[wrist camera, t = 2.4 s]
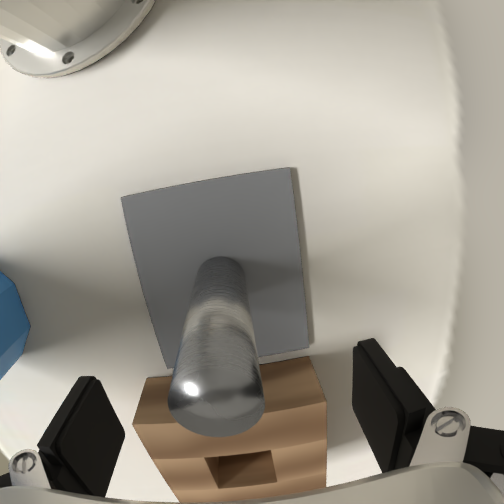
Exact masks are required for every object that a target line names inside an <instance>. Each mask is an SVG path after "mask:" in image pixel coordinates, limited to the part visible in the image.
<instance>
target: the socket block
mask: <svg viewBox="0 0 504 504" xmlns="http://www.w3.org/2000/svg"><path fill="white" fill-rule="evenodd" d="M259 368H260V374H261V380H262V386H263V392H264V399H265V410H264V413H263V415H262V417H261V419H260V420H259V421H258V422H257V423H256V424H255V425H254V426H253V427H252V428H250V429H248V430H247V431H245V432H243V433H240V434H237V435H233V436H228V437H209V436H203V435H200V434H196V433H194V432H191V431H189V430H187V429H186V428H184V427H183V426H181V425H180V424H179V423H178V422H177V421H176V420H175V419H174V418H173V416H172V415H171V413H170V411H169V408H168V394H169V389H170V384H171V380H172V376H168V377H156V378H147V379H146V382H145V385H144V388H143V391H142V394H141V397H140V400H139V404H138V407H137V410H136V413H135V416H134V420H133V423H132V425H133V427H134V429H135V431H136V433H137V434H138V436H139V438H140V440H141V441H142V443H143V445H144V447H145V448H146V450H147V452H148V454H149V455H150V457H151V459H152V460H153V462H154V464H155V465H156V467H157V468H158V470H159V472H160V473H161V475H162V476H163V478H164V479H165V481H166V482H167V484H168V486H169V487H170V489H171V490H172V492H173V493H174V494H175V496H176V497H177V499H178V500H179V502H180V503H197V502H223V501H237V500H249V499H258V498H267V497H274V496H281V495H288V494H294V493H300V492H305V491H310V490H315V489H320V488H325V487H326V469H327V402H326V399H325V396H324V394H323V391H322V388H321V386H320V383H319V381H318V378H317V376H316V373H315V370H314V368H313V365H312V363H311V360H310V358H309V356H307V357H302V358H296V359H291V360H286V361H280V362H275V363H269V364H263V365H259Z"/></svg>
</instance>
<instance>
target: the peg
mask: <svg viewBox="0 0 504 504" xmlns="http://www.w3.org/2000/svg"><path fill="white" fill-rule="evenodd" d="M168 408H169V411H170V413H171V415H172V416H173V418H174V419H175V420H176V421H177V422H178V423H179V424H180V425H181V426H183V427H184V428H186V429H187V430H189V431H191V432H194V433H196V434H200V435H203V436H209V437H228V436H233V435H237V434H240V433H243V432H245V431H247V430H248V429H250V428H252V427H253V426H254V425H255V424H256V423H257V422H258V421H259V420H260V419H261V417H262V415H263V413H264V410H265V399H264V392H263V386H262V380H261V374H260V368H259V361H258V355H257V349H256V342H255V336H254V330H253V323H252V317H251V311H250V304H249V298H248V291H247V285H246V278H245V273H244V271H243V269H242V267H241V266H240V265H239V264H238V263H237V262H236V261H235V260H233V259H231V258H228V257H224V256H217V257H212V258H210V259H208V260H206V261H205V262H204V263H203V264H202V265H201V266H200V267H199V269H198V271H197V274H196V278H195V282H194V286H193V290H192V294H191V298H190V302H189V306H188V310H187V314H186V319H185V323H184V327H183V331H182V335H181V340H180V344H179V348H178V353H177V357H176V362H175V366H174V371H173V375H172V380H171V384H170V389H169V394H168Z"/></svg>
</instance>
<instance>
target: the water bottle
mask: <svg viewBox="0 0 504 504" xmlns="http://www.w3.org/2000/svg"><path fill="white" fill-rule="evenodd" d="M29 330H30V324H29V321H28V319H27V316H26V314H25V311H24V308H23V306H22V303H21V300H20V298H19V295H18V292H17V289H16V286H15V284H14V283H13V282H12V281H11V280H10V279H9V278H7V277H6V276H5V275H4V274H3V273H2V272H1V271H0V380H1V379H2V377H3V376H4V375H5V374H6V373H7V371H8V370H9V369H10V368H11V367H12V366H13V364H14V363H15V362H16V361H17V360H18V359H19V357H20V356H21V355H22V353H23V350H24V346H25V343H26V339H27V336H28V333H29Z"/></svg>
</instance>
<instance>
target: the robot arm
mask: <svg viewBox="0 0 504 504" xmlns="http://www.w3.org/2000/svg"><path fill="white" fill-rule="evenodd" d="M140 2H141V3H140ZM154 2H155V0H0V51H1V54H2V55H3V57H4V59H5V61H6V62H7V63H8V64H9V65H10V66H11V67H12V68H13V69H14V70H16V71H18V72H20V73H22V74H25V75H29V76H32V77H37V78H52V77H58V76H64V75H67V74H70V73H72V72H75V71H79V70H81V69H82V68H84V67H86V66H88V65H90V64H92V63H94V62H96V61H98V60H99V59H101V58H102V57H104V56H105V55H107V54H108V53H110V52H111V51H112V50H114V49H115V48H116V47H117V46H118V45H119V44H121V43H122V42H123V41H124V40H125V39H127V38H128V36H129V35H130V34H131V33H132V32H133V31H134V30H135V29H136V28H137V27H138V26H139V25H140V23H141V22H142V21H143V19H144V18H145V16H146V15H147V14H148V12H149V11H150V10H151V8H152V6H153V4H154ZM352 406H353V410H354V412H355V414H356V417H357V419H358V421H359V423H360V425H361V427H362V430H363V432H364V434H365V436H366V438H367V440H368V443H369V445H370V447H371V449H372V451H373V453H374V456H375V458H376V460H377V462H378V464H379V467H380V469H381V471H382V474H378V475H374V476H370V477H366V478H363V479H359V480H355V481H351V482H347V483H343V484H339V485H334V486H330V487H325V488H320V489H315V490H310V491H305V492H300V493H294V494H288V495H281V496H274V497H267V498H258V499H249V500H237V501H223V502H197V503H174V502H148V501H133V500H122V499H113V498H105V496H106V493H107V490H108V486H109V483H110V480H111V477H112V474H113V471H114V468H115V465H116V462H117V459H118V456H119V453H120V450H121V447H122V444H123V441H124V438H125V431H124V429H123V427H122V425H121V423H120V421H119V419H118V417H117V415H116V413H115V411H114V409H113V407H112V405H111V403H110V401H109V399H108V397H107V395H106V392H105V390H104V388H103V386H102V384H101V382H100V381H99V380H97V379H96V378H95V377H94V376H81V377H79V378H78V380H77V381H76V383H75V384H74V386H73V387H72V389H71V391H70V392H69V394H68V395H67V397H66V398H65V400H64V402H63V403H62V405H61V406H60V408H59V410H58V411H57V413H56V414H55V416H54V418H53V419H52V421H51V423H50V424H49V426H48V427H47V429H46V431H45V432H44V434H43V436H42V438H41V439H40V441H39V443H38V444H37V446H38V448H39V449H40V450H39V452H38V453H37V452H36V451H35V450H31V449H25V450H21V451H19V452H17V453H16V454H15V455H14V456H13V457H12V458H11V460H10V462H9V473H7V474H4V475H2V476H0V504H504V431H501V430H495V429H488V428H481V427H476V426H470V419H469V417H468V415H467V414H466V413H465V412H464V411H462V410H460V409H458V408H454V407H444V408H439V409H437V410H436V409H435V408H434V407H433V405H432V404H431V403H430V402H429V400H428V399H427V398H426V396H425V395H424V394H423V392H422V391H421V390H420V388H419V387H418V386H417V385H416V383H415V382H414V381H413V379H412V378H411V377H410V376H409V374H408V373H407V372H406V370H405V369H404V368H403V367H396V366H395V365H394V363H393V362H392V361H391V359H390V358H389V357H388V355H387V354H386V353H385V352H384V350H383V349H382V348H381V346H380V345H379V344H378V342H377V341H376V340H375V339H374V338H371V339H367V340H363V341H359V342H358V344H357V346H355V347H353V388H352Z"/></svg>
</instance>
